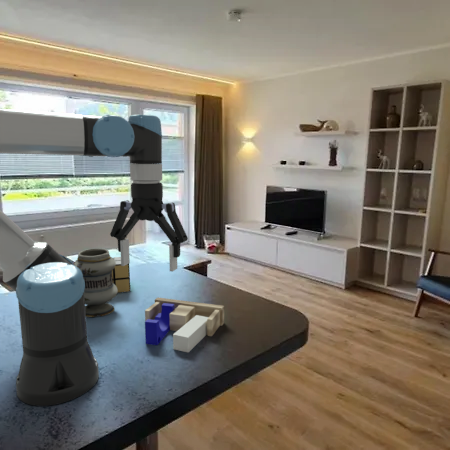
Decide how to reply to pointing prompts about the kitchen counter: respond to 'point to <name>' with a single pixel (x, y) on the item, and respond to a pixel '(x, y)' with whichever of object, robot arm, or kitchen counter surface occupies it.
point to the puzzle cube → (121, 276)
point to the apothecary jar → (97, 281)
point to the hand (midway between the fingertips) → (149, 267)
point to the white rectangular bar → (190, 334)
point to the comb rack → (188, 313)
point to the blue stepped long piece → (158, 325)
